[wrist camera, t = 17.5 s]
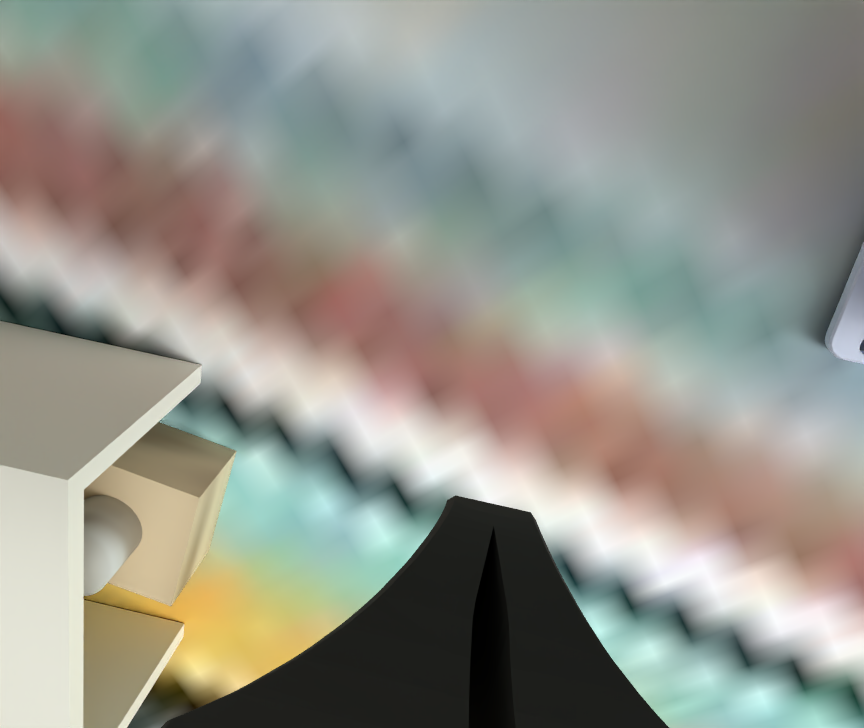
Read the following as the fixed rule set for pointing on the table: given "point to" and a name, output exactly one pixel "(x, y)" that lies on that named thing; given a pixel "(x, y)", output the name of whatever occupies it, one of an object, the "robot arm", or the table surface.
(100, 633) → the open shelf unit
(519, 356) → the table surface
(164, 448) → the beige toy brick
